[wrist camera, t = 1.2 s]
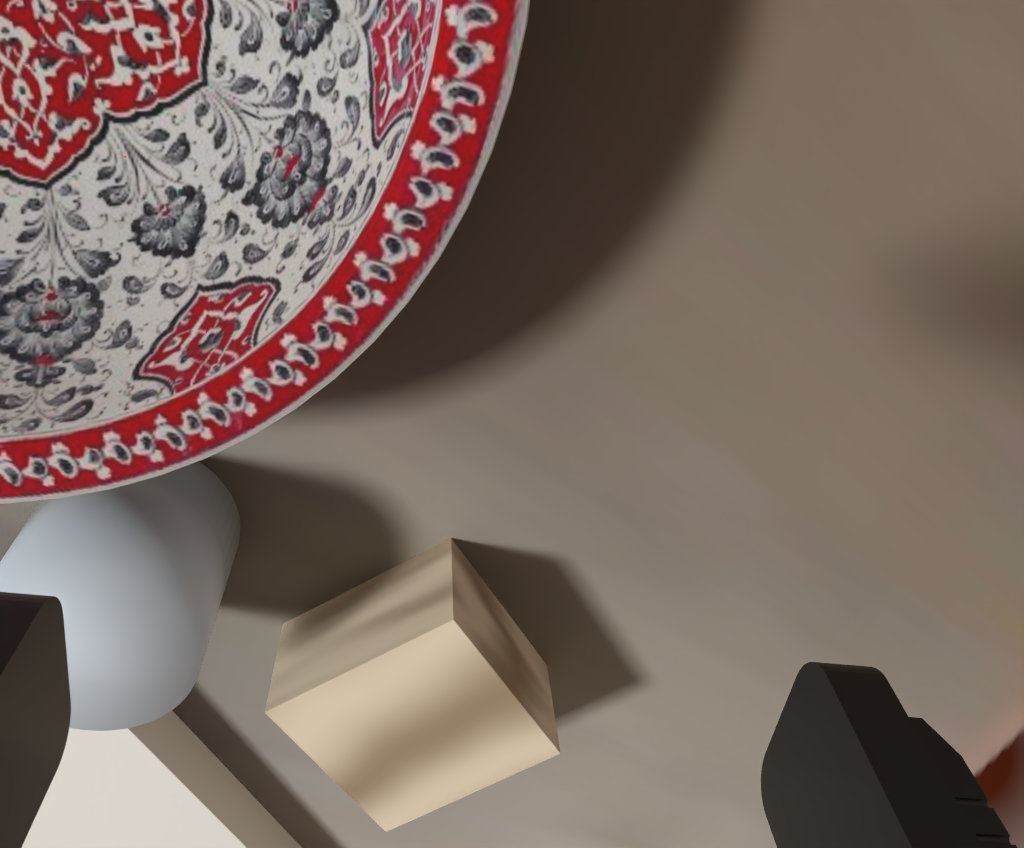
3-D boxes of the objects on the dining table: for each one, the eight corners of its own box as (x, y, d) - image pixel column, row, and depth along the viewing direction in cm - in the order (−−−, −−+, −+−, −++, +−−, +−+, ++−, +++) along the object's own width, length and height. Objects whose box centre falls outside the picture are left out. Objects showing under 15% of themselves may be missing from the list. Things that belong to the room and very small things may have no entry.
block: (283, 620, 38) (264, 712, 34) (451, 534, 37) (453, 619, 32) (390, 735, 42) (385, 832, 37) (546, 662, 40) (560, 753, 36)
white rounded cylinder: (268, 485, 35) (233, 608, 29) (203, 616, 37) (158, 754, 31) (79, 412, 33) (-2, 527, 27) (25, 556, 35) (-60, 691, 29)
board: (-51, 703, 39) (-85, 759, 37) (108, 632, 38) (85, 685, 35) (175, 904, 47) (160, 964, 44) (314, 850, 45) (306, 908, 43)
